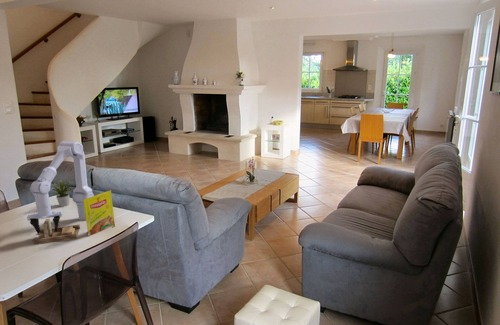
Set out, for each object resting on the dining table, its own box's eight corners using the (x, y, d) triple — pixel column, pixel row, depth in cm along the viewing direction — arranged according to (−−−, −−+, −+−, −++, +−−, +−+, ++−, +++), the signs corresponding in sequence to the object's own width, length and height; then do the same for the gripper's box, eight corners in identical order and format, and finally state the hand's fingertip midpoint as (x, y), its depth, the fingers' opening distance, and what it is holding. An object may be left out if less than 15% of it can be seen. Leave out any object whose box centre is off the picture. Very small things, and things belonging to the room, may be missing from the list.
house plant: (64, 211, 204) (60, 184, 200) (44, 209, 207) (40, 183, 203) (81, 202, 217) (78, 177, 213) (62, 200, 220) (58, 175, 216)
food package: (89, 238, 171) (83, 199, 165) (88, 238, 171) (82, 199, 166) (115, 226, 183) (111, 190, 178) (114, 226, 184) (109, 189, 179)
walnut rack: (80, 229, 180) (79, 224, 179) (76, 240, 169) (75, 234, 168) (41, 234, 175) (39, 229, 174) (34, 246, 164) (33, 240, 163)
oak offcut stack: (75, 230, 177) (74, 225, 177) (72, 237, 170) (71, 232, 169) (63, 231, 176) (63, 227, 175) (60, 238, 168) (59, 234, 168)
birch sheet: (52, 233, 174) (49, 218, 172) (48, 239, 168) (46, 224, 165) (48, 233, 174) (46, 219, 172) (45, 240, 167) (42, 224, 165)
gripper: (23, 210, 161) (28, 237, 164) (58, 206, 165) (62, 233, 168) (27, 204, 167) (32, 231, 171) (61, 201, 171) (65, 227, 175)
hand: (47, 231), depth 170 cm, fingers open, 7 cm apart
